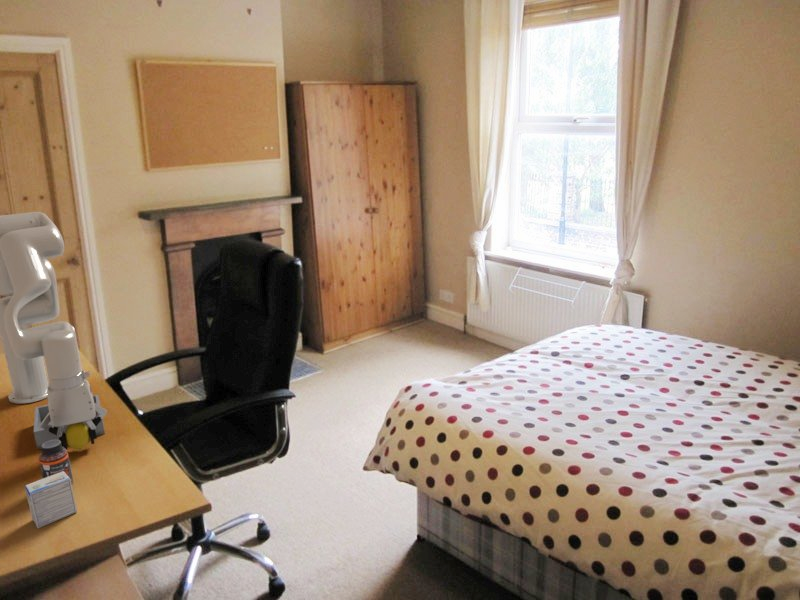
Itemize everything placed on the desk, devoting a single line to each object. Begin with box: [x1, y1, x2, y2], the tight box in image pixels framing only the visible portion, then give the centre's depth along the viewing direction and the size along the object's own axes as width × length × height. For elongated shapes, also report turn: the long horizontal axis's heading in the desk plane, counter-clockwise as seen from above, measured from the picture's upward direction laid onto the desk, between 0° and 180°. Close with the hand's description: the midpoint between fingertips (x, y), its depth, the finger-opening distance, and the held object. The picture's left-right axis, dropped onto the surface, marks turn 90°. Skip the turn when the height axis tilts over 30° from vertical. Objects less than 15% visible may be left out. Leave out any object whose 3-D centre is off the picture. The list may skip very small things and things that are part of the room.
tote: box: [33, 394, 106, 450], centre depth 174 cm, size 16×16×5 cm
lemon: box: [65, 422, 91, 451], centre depth 162 cm, size 6×6×8 cm
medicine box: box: [24, 471, 78, 529], centre depth 136 cm, size 8×4×9 cm, turn 133°
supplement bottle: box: [38, 440, 74, 486], centre depth 146 cm, size 6×6×11 cm
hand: (79, 444), depth 162 cm, fingers closed on lemon, 5 cm apart
